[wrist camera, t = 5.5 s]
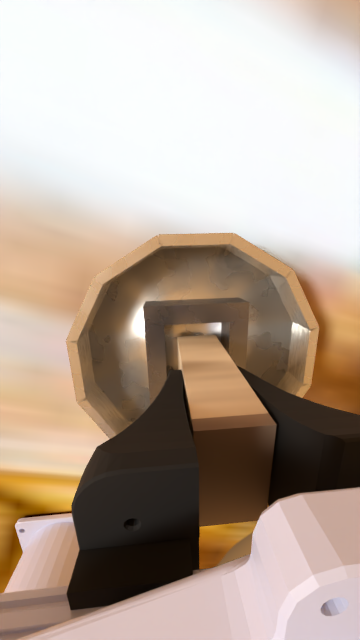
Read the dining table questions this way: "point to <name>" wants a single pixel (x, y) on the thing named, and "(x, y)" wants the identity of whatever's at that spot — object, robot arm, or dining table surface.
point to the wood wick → (225, 433)
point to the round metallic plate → (186, 321)
